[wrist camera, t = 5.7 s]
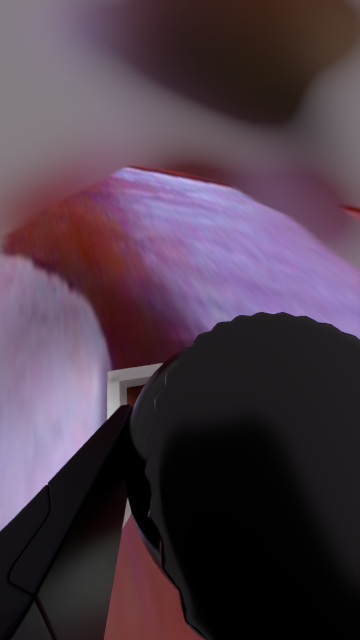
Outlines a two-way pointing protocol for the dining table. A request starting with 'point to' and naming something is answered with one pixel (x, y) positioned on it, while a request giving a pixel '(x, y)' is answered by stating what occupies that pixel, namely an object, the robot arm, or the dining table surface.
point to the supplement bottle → (254, 479)
